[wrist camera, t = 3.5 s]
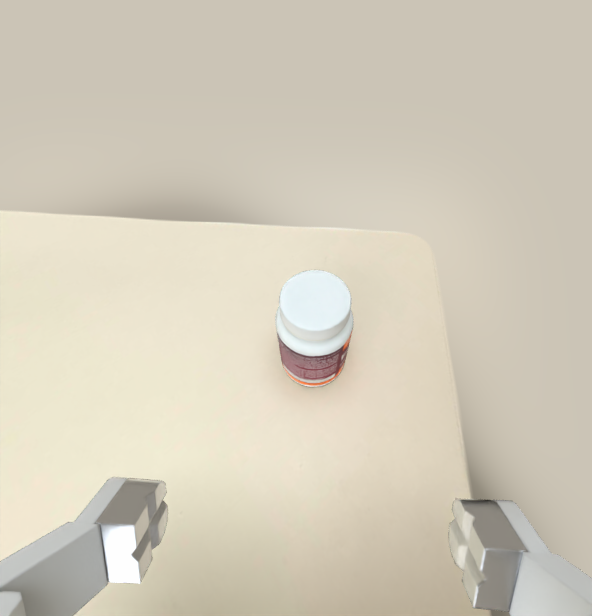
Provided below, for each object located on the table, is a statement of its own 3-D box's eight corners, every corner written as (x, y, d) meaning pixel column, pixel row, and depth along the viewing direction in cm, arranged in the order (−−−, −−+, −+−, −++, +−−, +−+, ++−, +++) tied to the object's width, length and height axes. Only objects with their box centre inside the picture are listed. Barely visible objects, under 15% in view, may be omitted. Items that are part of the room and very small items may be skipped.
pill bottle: (352, 381, 26) (369, 328, 19) (287, 394, 25) (279, 344, 18) (336, 324, 28) (346, 257, 21) (276, 335, 28) (266, 270, 21)
